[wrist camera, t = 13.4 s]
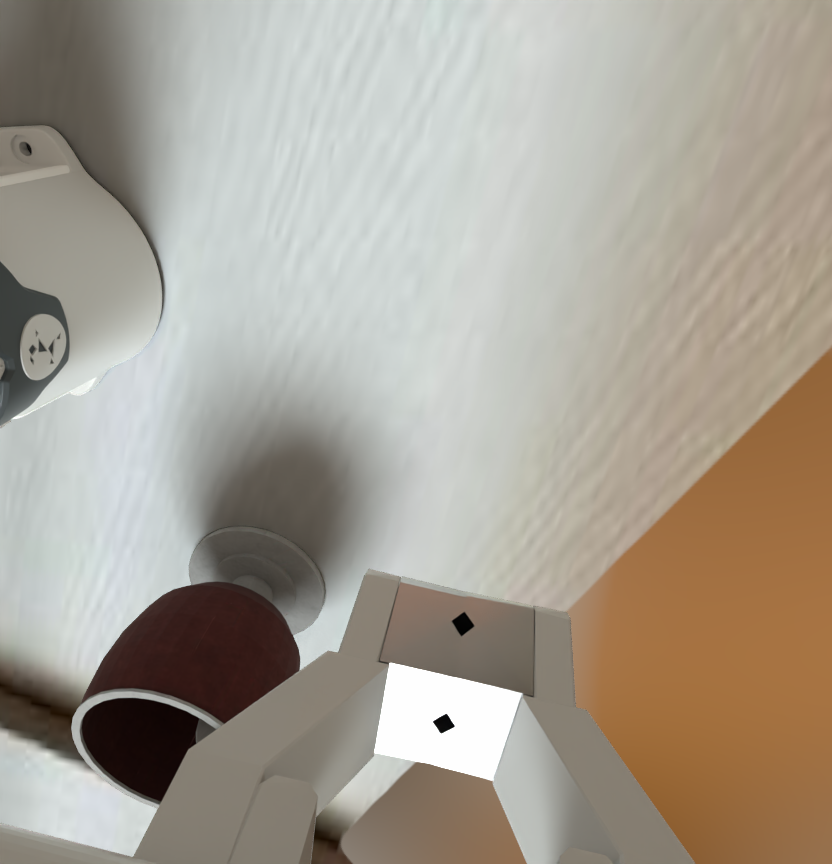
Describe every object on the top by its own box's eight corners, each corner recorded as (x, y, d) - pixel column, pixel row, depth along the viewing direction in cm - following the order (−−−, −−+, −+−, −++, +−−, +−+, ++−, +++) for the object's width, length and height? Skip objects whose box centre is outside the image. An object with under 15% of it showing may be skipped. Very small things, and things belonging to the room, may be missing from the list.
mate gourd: (244, 653, 63) (133, 874, 46) (152, 547, 58) (-10, 751, 41) (378, 611, 58) (310, 845, 40) (290, 490, 53) (169, 698, 35)
